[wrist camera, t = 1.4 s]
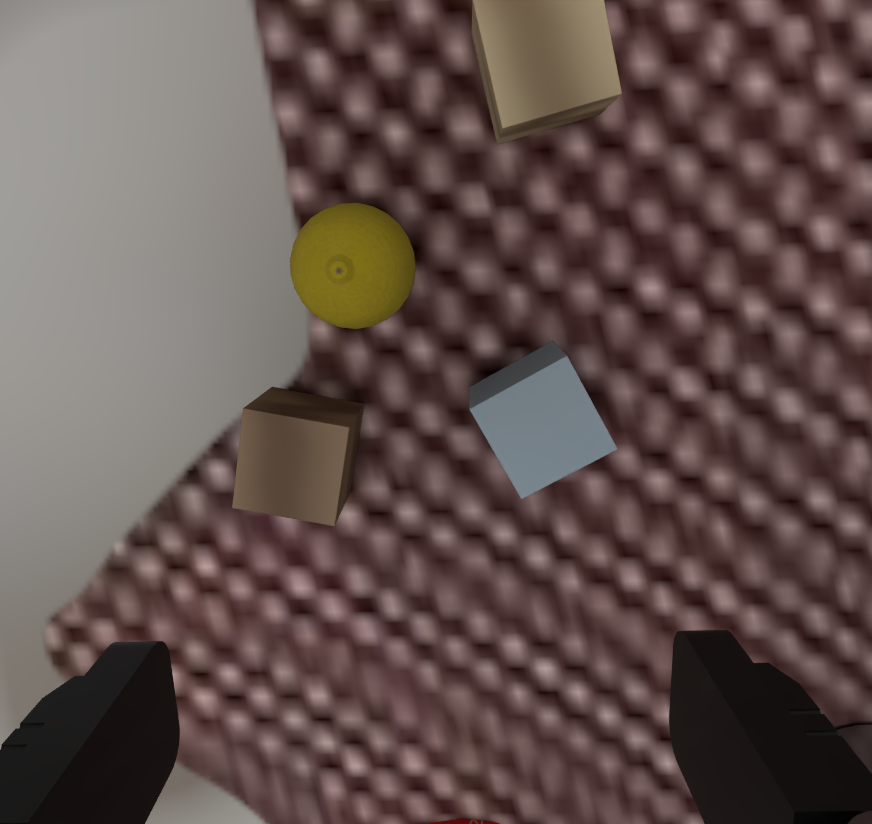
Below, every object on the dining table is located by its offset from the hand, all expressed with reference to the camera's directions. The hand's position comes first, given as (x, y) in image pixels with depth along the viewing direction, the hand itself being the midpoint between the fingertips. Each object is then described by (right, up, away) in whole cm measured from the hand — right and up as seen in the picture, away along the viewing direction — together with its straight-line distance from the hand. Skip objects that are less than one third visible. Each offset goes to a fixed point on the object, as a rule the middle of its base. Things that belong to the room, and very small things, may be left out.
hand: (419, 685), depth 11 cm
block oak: (+5, +20, +22) cm, 30 cm away
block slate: (+5, +5, +26) cm, 27 cm away
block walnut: (-6, +3, +27) cm, 28 cm away
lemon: (-3, +12, +24) cm, 27 cm away
